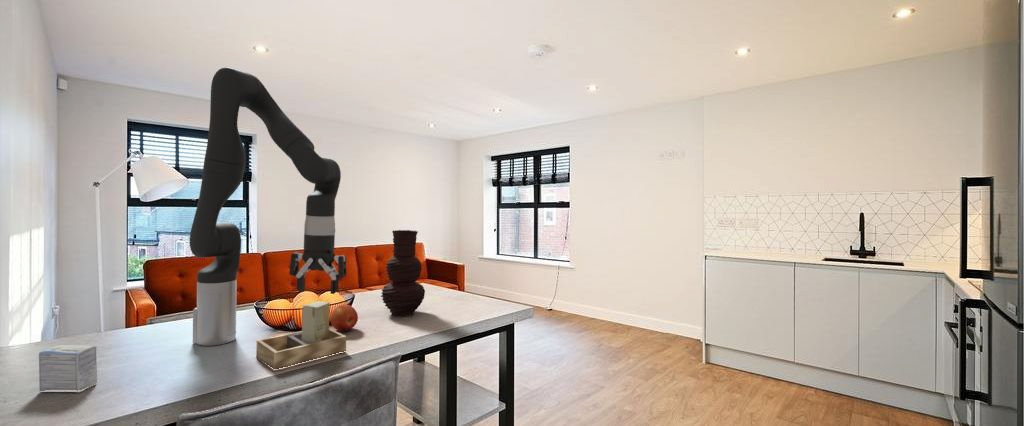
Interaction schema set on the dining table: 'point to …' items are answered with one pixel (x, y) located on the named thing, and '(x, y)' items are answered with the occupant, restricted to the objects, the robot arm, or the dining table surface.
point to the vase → (403, 276)
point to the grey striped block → (67, 367)
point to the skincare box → (315, 322)
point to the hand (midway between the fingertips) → (317, 292)
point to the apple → (344, 317)
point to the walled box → (297, 349)
